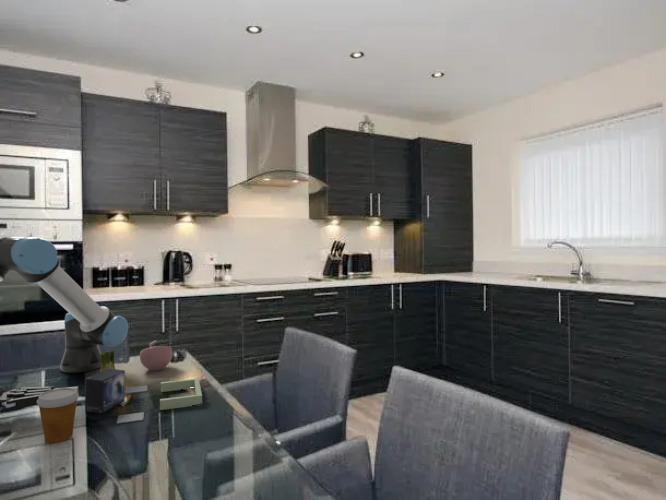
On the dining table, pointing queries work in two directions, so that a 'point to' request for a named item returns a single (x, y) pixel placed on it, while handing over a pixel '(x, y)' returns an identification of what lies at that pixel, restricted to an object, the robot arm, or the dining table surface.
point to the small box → (105, 390)
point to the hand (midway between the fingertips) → (77, 391)
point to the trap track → (168, 402)
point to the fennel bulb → (107, 360)
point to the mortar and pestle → (156, 356)
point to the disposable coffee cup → (58, 413)
